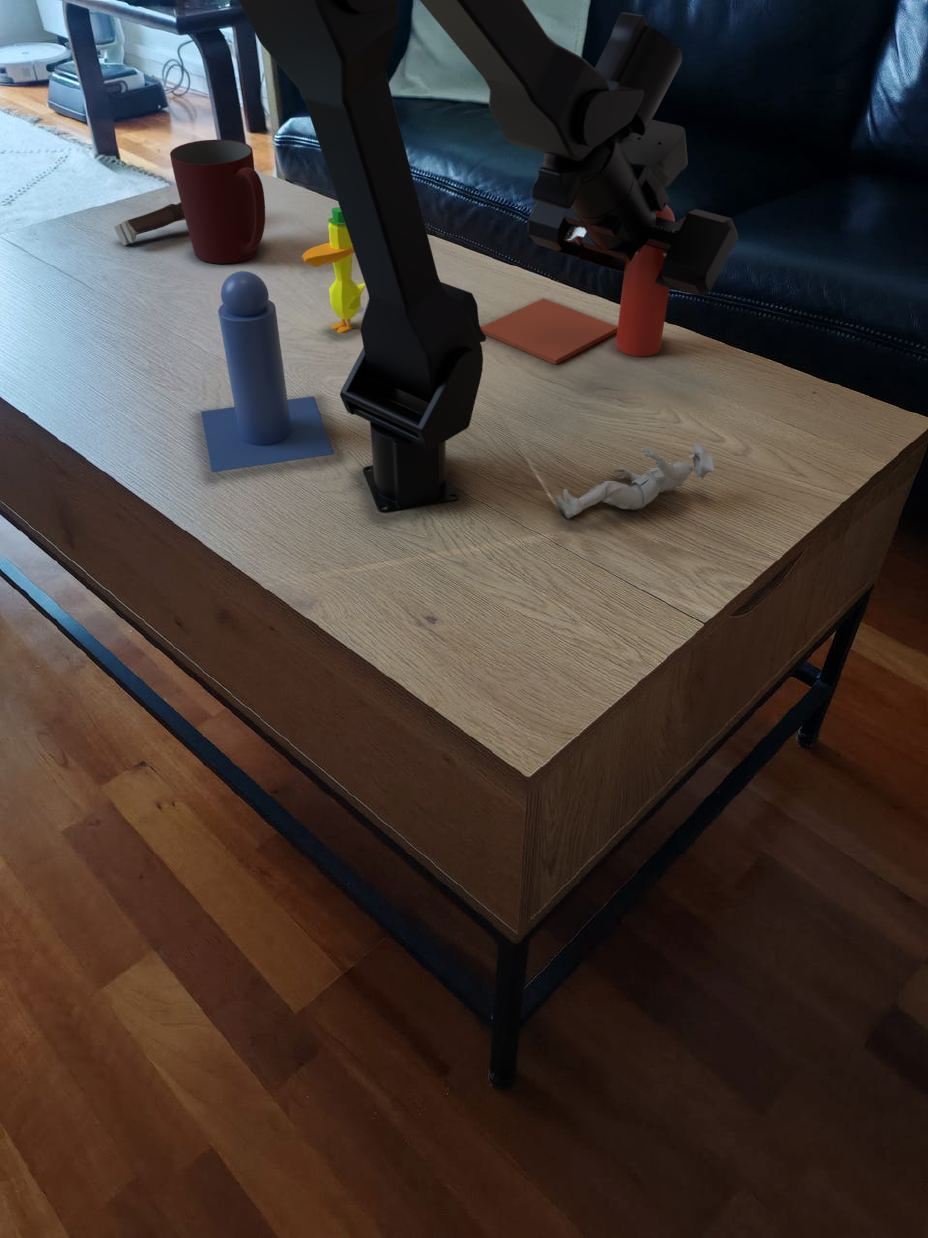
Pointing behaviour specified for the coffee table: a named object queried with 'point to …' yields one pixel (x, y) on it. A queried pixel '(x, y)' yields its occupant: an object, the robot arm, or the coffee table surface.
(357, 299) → the toy figure
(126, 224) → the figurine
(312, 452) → the blue mat
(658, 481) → the soldier figure
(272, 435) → the blue skittle
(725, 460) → the coffee table surface
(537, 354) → the red mat
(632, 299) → the red skittle
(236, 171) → the mug
